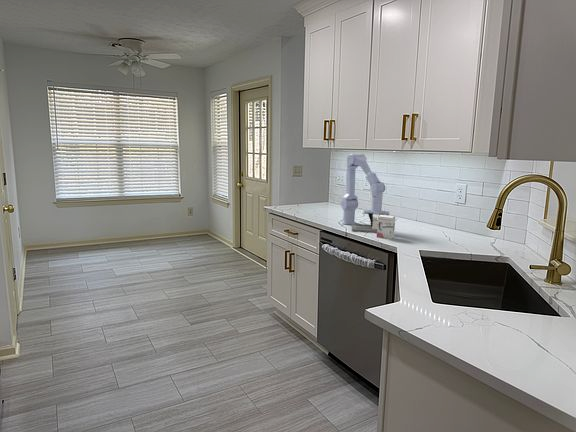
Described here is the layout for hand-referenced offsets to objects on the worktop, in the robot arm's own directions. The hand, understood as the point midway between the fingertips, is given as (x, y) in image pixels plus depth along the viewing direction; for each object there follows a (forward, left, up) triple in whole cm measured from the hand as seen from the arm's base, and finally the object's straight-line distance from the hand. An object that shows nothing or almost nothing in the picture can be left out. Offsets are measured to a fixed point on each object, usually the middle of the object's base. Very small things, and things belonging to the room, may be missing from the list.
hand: (375, 226), depth 236 cm
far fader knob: (-9, 0, -1) cm, 9 cm away
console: (-4, -4, -3) cm, 6 cm away
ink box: (+14, +5, -3) cm, 16 cm away
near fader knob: (0, 0, -1) cm, 1 cm away
